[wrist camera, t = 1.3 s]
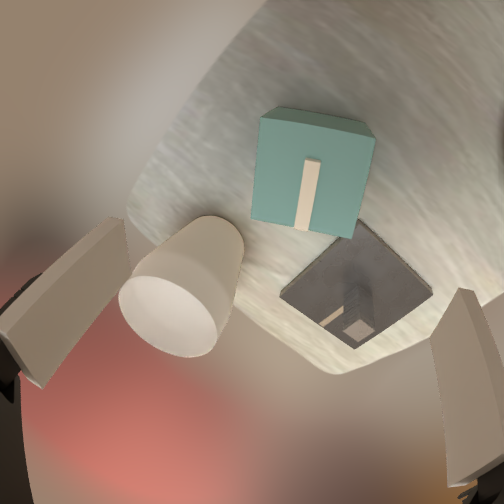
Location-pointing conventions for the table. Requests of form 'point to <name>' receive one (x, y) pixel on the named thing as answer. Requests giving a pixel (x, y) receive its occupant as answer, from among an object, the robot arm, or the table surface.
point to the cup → (185, 288)
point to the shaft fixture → (357, 288)
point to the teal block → (311, 171)
